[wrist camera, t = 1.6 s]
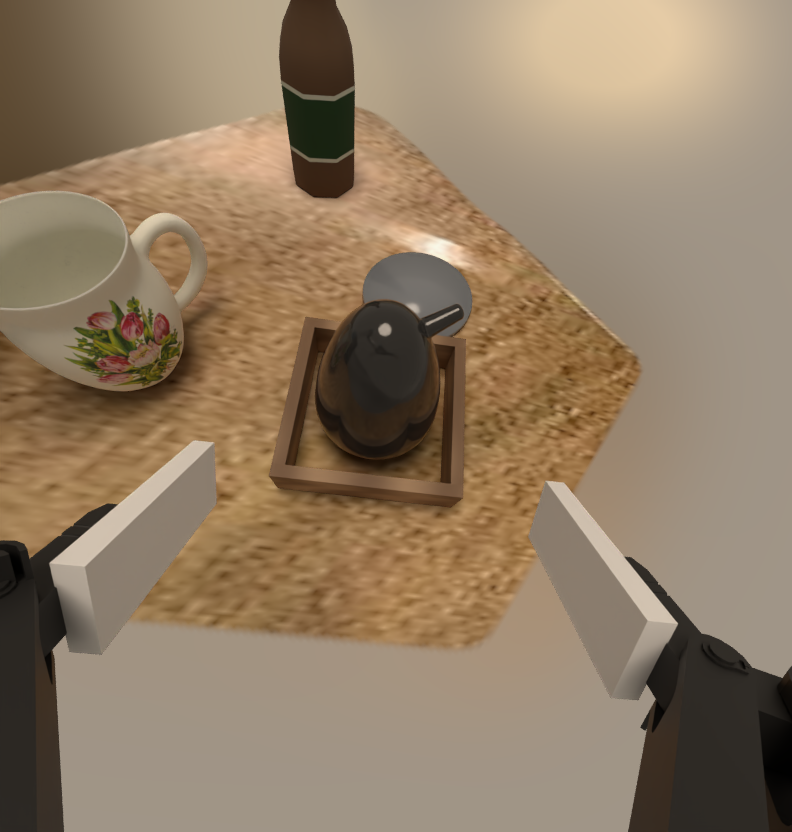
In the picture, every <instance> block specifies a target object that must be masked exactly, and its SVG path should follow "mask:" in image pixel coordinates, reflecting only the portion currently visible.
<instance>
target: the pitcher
mask: <svg viewBox="0 0 792 832" xmlns="http://www.w3.org/2000/svg"><path fill="white" fill-rule="evenodd" d="M167 232H175V233H178V234H179V235H181V236H182V237H183V239H184V240H185V241H186V243H187V245H188V247H189V250H190V254H191V267H190V271H189V273H188V276H187V278H186V280H185V282H184V284H183V285H182V287H181V288H180V289H179V291H178V292H177V293H176V294H175V295H173V293H172V291H171V289H170V287H169V285H168V284H167V282H166V280H165V279H164V278H163V276H162V275H161V274H160V272H159V271H158V270H157V268H156V267H155V266H154V265H153V264H152V263H151V262H150V260H149V257H148V255H149V251H150V247H151V245H152V244H153V243H154V241H155V240H156V239H157V238H158V237H159V236H161V235H162V234H164V233H167ZM206 274H207V255H206V251H205V248H204V245H203V243H202V241H201V239H200V237H199V235H198V234H197V232H196V231H195V230H194V229H193V228H192V227H191V226H190V225H189V224H188V223H187V222H186V221H184V220H183V219H181V218H180V217H178V216H176V215H173V214H170V213H159V214H155V215H153V216H151V217H149V218H147V219H146V220H145V221H143V222H142V223H141V224H140V225H139V226H138V228H137V229H136V230H135V232H134V233H133V234H132V235H130V236H129V233H128V230H127V228H126V226H125V224H124V222H123V220H122V219H121V217H120V216H119V215H118V213H117V212H116V211H115V210H114V209H113V208H111V207H110V206H109V205H107V204H106V203H104V202H102V201H100V200H98V199H96V198H93V197H90V196H88V195H84V194H80V193H74V192H67V191H41V192H33V193H27V194H22V195H18V196H13V197H10V198H7V199H4V200H1V201H0V331H1V332H2V333H3V334H4V335H5V336H6V337H7V338H8V339H9V340H10V341H11V342H12V343H13V344H14V345H15V346H17V347H18V348H19V349H20V350H22V351H23V352H24V353H25V354H27V355H28V356H29V357H31V358H32V359H34V360H35V361H36V362H38V363H40V364H41V365H43V366H45V367H46V368H48V369H50V370H51V371H53V372H55V373H57V374H59V375H61V376H63V377H65V378H68V379H70V380H73V381H75V382H78V383H81V384H84V385H87V386H91V387H95V388H99V389H104V390H111V391H133V390H138V389H143V388H147V387H150V386H153V385H155V384H157V383H159V382H161V381H162V380H164V379H165V378H166V377H167V376H168V375H169V374H170V373H171V372H172V371H173V370H174V368H175V366H176V365H177V363H178V361H179V360H180V357H181V354H182V350H183V345H184V330H183V322H182V317H181V312H182V311H183V310H184V309H185V308H186V307H187V306H188V305H189V304H190V303H191V302H192V301H193V300H194V298H195V297H196V296H197V294H198V293H199V291H200V289H201V287H202V285H203V283H204V280H205V277H206Z"/></svg>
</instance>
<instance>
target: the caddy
mask: <svg viewBox="0 0 792 832" xmlns="http://www.w3.org/2000/svg"><path fill="white" fill-rule="evenodd" d="M340 324H341V322H339V321H332V320H325V319H318V318H311V317H305V321H304V326H303V330H302V334H301V339H300V343H299V347H298V352H297V356H296V360H295V365H294V369H293V373H292V378H291V382H290V386H289V391H288V395H287V400H286V404H285V408H284V413H283V417H282V421H281V426H280V430H279V434H278V439H277V443H276V447H275V452H274V456H273V460H272V465H271V469H270V473H269V477H270V478H271V479H272V481H273V482H274V483H275V485H276V486H277V487H278V488H283V489H292V490H301V491H310V492H319V493H328V494H337V495H345V496H354V497H363V498H372V499H381V500H390V501H399V502H408V503H417V504H426V505H435V506H444V507H452V506H453V505H455V504H456V503H457V502H458V501H460V500H461V499H462V498H463V471H464V414H465V356H466V339H461V338H454V337H447V336H440V335H435V336H433V337H432V340H433V343H434V346H435V349H436V352H437V356H438V361H439V368H445V392H444V415H443V439H442V463H441V483H439V482H430V481H422V480H413V479H404V478H396V477H387V476H378V475H370V474H361V473H352V472H344V471H335V470H326V469H318V468H309V467H300V466H295V462H296V457H297V452H298V447H299V442H300V437H301V432H302V428H303V423H304V418H305V413H306V408H307V403H308V398H309V393H310V388H311V383H312V379H313V374H314V369H315V364H316V359H317V354H318V352H325V349H326V347H327V345H328V343H329V341H330V339H331V338H332V336H333V334H334V332H335V331H336V329H337V328H338V326H339V325H340Z"/></svg>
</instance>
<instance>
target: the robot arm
mask: <svg viewBox="0 0 792 832" xmlns="http://www.w3.org/2000/svg"><path fill="white" fill-rule="evenodd" d="M216 504H217V503H216V476H215V449H214V443H213V442H204V441H195V440H194V441H193V442H191V443H190V444H189V445H188V446H187V447H186V448H184V449H183V450H182V451H181V452H180V453H178V454H177V455H176V456H175V457H174V458H173V459H171V460H170V461H169V462H168V463H167V464H166V465H164V466H163V467H162V468H161V469H160V470H158V471H157V472H156V473H155V474H154V475H153V476H151V477H150V478H149V479H148V480H147V481H145V482H144V483H143V484H142V485H141V486H140V487H138V488H137V489H136V490H135V491H134V492H133V493H131V494H130V495H129V496H128V497H127V498H125V499H124V500H123V501H122V502H121V503H120V504H105V505H103V506H101V507H99V508H97V509H95V510H93V511H91V512H88V513H87V514H86V515H85V516H83V517H82V518H81V519H80V520H78V521H77V522H76V523H74V526H71V527H69V528H68V529H67V530H66V531H64V532H63V533H62V535H61V536H58V537H57V538H56V539H54V540H53V541H52V542H50V543H49V544H48V545H47V546H45V547H44V548H43V549H42V550H40V551H39V552H38V553H37V554H35V555H34V556H33V557H31V558H30V559H29V555H28V551H27V548H26V546H25V544H23V543H20V542H18V541H4V540H3V541H0V832H64V825H63V806H62V787H61V769H60V751H59V734H58V733H59V732H58V715H57V696H56V678H55V661H54V660H55V659H54V655H53V651H52V649H53V648H54V647H55V646H56V645H57V644H58V643H59V641H60V640H61V639H62V638H63V637H64V636H65V635H66V638H67V643H68V647H69V652H75V653H88V654H99V655H102V653H103V652H104V651H105V650H106V648H107V647H108V646H109V644H110V643H111V642H112V640H113V639H114V638H115V636H116V635H117V634H118V632H119V631H120V630H121V628H122V627H123V626H124V625H125V623H126V622H127V621H128V619H129V618H130V617H131V615H132V614H133V613H134V611H135V610H136V609H137V607H138V606H139V605H140V603H141V602H142V601H143V600H144V598H145V597H146V596H147V594H148V593H149V592H150V590H151V589H152V588H153V586H154V585H155V584H156V582H157V581H158V580H159V579H160V577H161V576H162V575H163V573H164V572H165V571H166V569H167V568H168V567H169V565H170V564H171V563H172V561H173V560H174V559H175V557H176V556H177V555H178V554H179V552H180V551H181V550H182V548H183V547H184V546H185V544H186V543H187V542H188V540H189V539H190V538H191V536H192V535H193V534H194V532H195V531H196V530H197V529H198V527H199V526H200V525H201V523H202V522H203V521H204V519H205V518H206V517H207V515H208V514H209V513H210V511H211V510H212V509H213V508H214V506H215V505H216ZM529 539H530V541H531V543H532V545H533V547H534V549H535V551H536V553H537V555H538V557H539V559H540V560H541V562H542V564H543V566H544V568H545V570H546V572H547V574H548V576H549V578H550V580H551V582H552V584H553V586H554V588H555V590H556V592H557V594H558V596H559V598H560V600H561V601H562V603H563V605H564V608H565V610H566V611H567V613H568V615H569V617H570V619H571V621H572V623H573V625H574V627H575V629H576V631H577V633H578V635H579V637H580V639H581V641H582V643H583V645H584V647H585V649H586V651H587V653H588V654H589V657H590V658H591V660H592V662H593V664H594V666H595V668H596V670H597V672H598V674H599V676H600V678H601V680H602V682H603V684H604V686H605V688H606V690H607V692H608V694H609V696H610V698H617V699H629V700H639V698H640V696H641V694H642V692H643V690H644V688H645V686H646V684H647V685H648V687H649V688H650V690H651V692H652V693H653V695H654V697H655V698H656V700H655V702H654V704H653V706H652V707H651V709H650V711H649V713H648V715H647V716H646V718H645V720H644V722H643V724H642V725H641V728H642V729H643V730H646V729H647V732H646V737H645V743H644V748H643V754H642V759H641V765H640V770H639V776H638V781H637V786H636V792H635V797H634V803H633V809H632V814H631V819H630V825H629V830H628V832H792V666H791V667H790V669H789V670H788V671H787V673H786V674H785V675H784V677H783V678H781V677H777V676H775V675H772V674H769V673H766V672H763V671H760V670H757V669H755V668H752V667H751V666H750V664H749V663H748V662H747V661H746V659H745V658H744V657H743V656H742V655H740V653H738V652H737V651H736V650H735V649H733V648H732V647H731V646H729V645H728V644H726V643H724V642H723V641H721V640H719V639H717V638H714V637H712V636H710V635H706V634H701V632H700V631H699V630H698V629H697V628H696V626H694V624H693V623H692V622H691V621H690V620H689V618H688V617H687V616H686V615H685V614H684V612H683V611H682V610H681V609H680V608H679V607H678V606H677V604H676V603H675V602H674V601H673V600H672V598H671V597H670V596H667V593H666V591H665V590H664V589H663V588H662V587H661V586H660V585H658V582H657V581H656V580H655V578H654V577H653V576H652V575H651V574H650V572H649V571H648V570H647V569H646V568H644V567H643V566H642V565H640V564H639V563H638V562H636V561H635V560H634V559H633V558H631V557H624V556H623V555H622V554H621V553H620V551H619V550H618V549H617V548H616V546H615V545H614V544H613V543H612V542H611V540H610V539H609V538H608V537H607V535H606V534H605V533H604V532H603V530H602V529H601V528H600V527H599V525H598V524H597V523H596V522H595V521H594V519H593V518H592V517H591V516H590V514H589V513H588V512H587V511H586V509H585V508H584V507H583V506H582V505H581V503H580V502H579V501H578V499H577V498H576V497H575V496H574V495H573V493H572V492H571V491H570V490H569V488H568V487H567V486H566V485H565V483H561V482H552V481H545V484H544V488H543V491H542V494H541V497H540V501H539V504H538V507H537V510H536V514H535V517H534V520H533V523H532V527H531V530H530V533H529Z"/></svg>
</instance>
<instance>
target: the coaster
mask: <svg viewBox="0 0 792 832" xmlns="http://www.w3.org/2000/svg"><path fill="white" fill-rule="evenodd" d="M377 299H391V300H396V301H399V302H401V303H403V304H405V305H406V306H408V307H409V308H410V309H411V310H413V311H414V312H415V313H416V314H417V315H418V317H419V318H422V317H425V316H427V315H430V314H432V313H435V312H437V311H439V310H442V309H444V308H447V307H449V306H451V305H454V304H459V305H460V306H461V307H462V309H463V311H464V317H463V319H462V320H460V321H458V322H457V323H455V324H453V325H452V326H450V327H448V328H447V329H445V330H443V331H442V332H440V333H438V334H437V335H440V336H447V337H452V336H453V335H455V334H456V333H457V332H459V331H460V329H461V328H462V327H463V326H464V324H465V323H466V321H467V319H468V317H469V314H470V312H471V308H472V294H471V290H470V288H469V285H468V283H467V281H466V280H465V278H464V277H463V276H462V274H461V273H460V272H459V271H458V270H457V269H456V268H454V267H453V266H452V265H450V264H449V263H447V262H446V261H444V260H442V259H440V258H437V257H435V256H432V255H428V254H424V253H416V252H407V253H400V254H395V255H392V256H389V257H387V258H385V259H383V260H381V261H380V262H378V263H377V264H376V265H375V266H373V268H372V269H371V270H370V271H369V273H368V274H367V276H366V279H365V281H364V286H363V303H364V304H365V303H367V302H369V301H373V300H377Z"/></svg>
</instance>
